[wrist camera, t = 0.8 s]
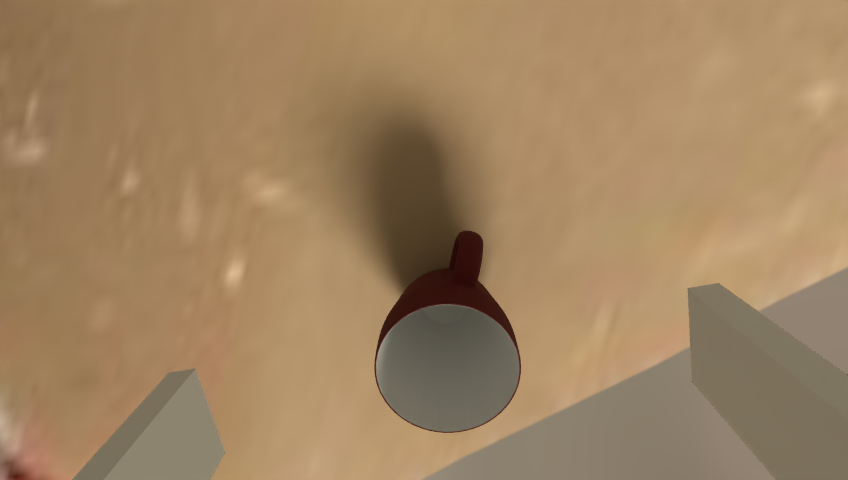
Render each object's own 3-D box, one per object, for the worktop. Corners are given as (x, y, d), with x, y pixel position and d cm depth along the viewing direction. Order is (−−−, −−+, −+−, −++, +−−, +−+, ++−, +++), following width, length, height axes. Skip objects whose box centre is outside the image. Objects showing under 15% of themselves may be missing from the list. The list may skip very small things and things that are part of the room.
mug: (397, 206, 36) (382, 249, 27) (513, 218, 36) (540, 265, 27) (386, 342, 39) (368, 426, 30) (493, 353, 39) (510, 440, 30)
